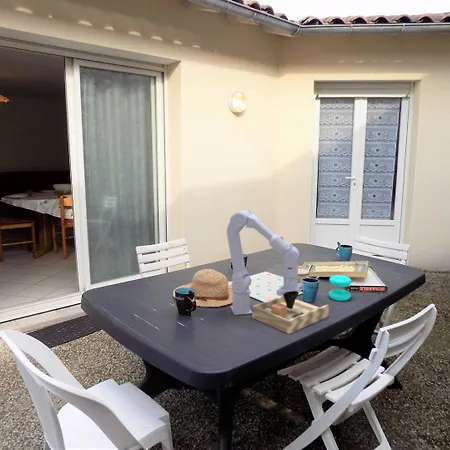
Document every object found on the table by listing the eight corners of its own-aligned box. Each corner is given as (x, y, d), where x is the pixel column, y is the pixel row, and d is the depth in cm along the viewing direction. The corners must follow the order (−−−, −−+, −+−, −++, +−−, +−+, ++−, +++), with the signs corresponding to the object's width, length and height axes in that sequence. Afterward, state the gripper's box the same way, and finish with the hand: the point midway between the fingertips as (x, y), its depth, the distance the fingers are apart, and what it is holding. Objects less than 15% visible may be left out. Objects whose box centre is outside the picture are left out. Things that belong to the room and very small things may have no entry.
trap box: (288, 333, 147) (289, 321, 147) (252, 317, 163) (252, 306, 162) (328, 316, 163) (329, 305, 162) (291, 303, 178) (292, 292, 177)
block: (279, 319, 155) (279, 308, 154) (270, 315, 158) (270, 305, 157) (286, 316, 157) (286, 305, 157) (278, 313, 161) (278, 302, 160)
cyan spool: (347, 282, 176) (326, 278, 182) (346, 303, 178) (325, 298, 183) (354, 276, 184) (333, 273, 190) (353, 296, 186) (332, 292, 191)
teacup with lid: (287, 287, 199) (287, 265, 197) (299, 284, 204) (300, 262, 202) (304, 294, 189) (305, 271, 187) (317, 290, 195) (317, 268, 193)
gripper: (286, 282, 152) (285, 315, 154) (309, 275, 161) (308, 306, 163) (273, 278, 157) (272, 310, 160) (296, 271, 166) (295, 301, 169)
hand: (289, 308), depth 162 cm, fingers closed
